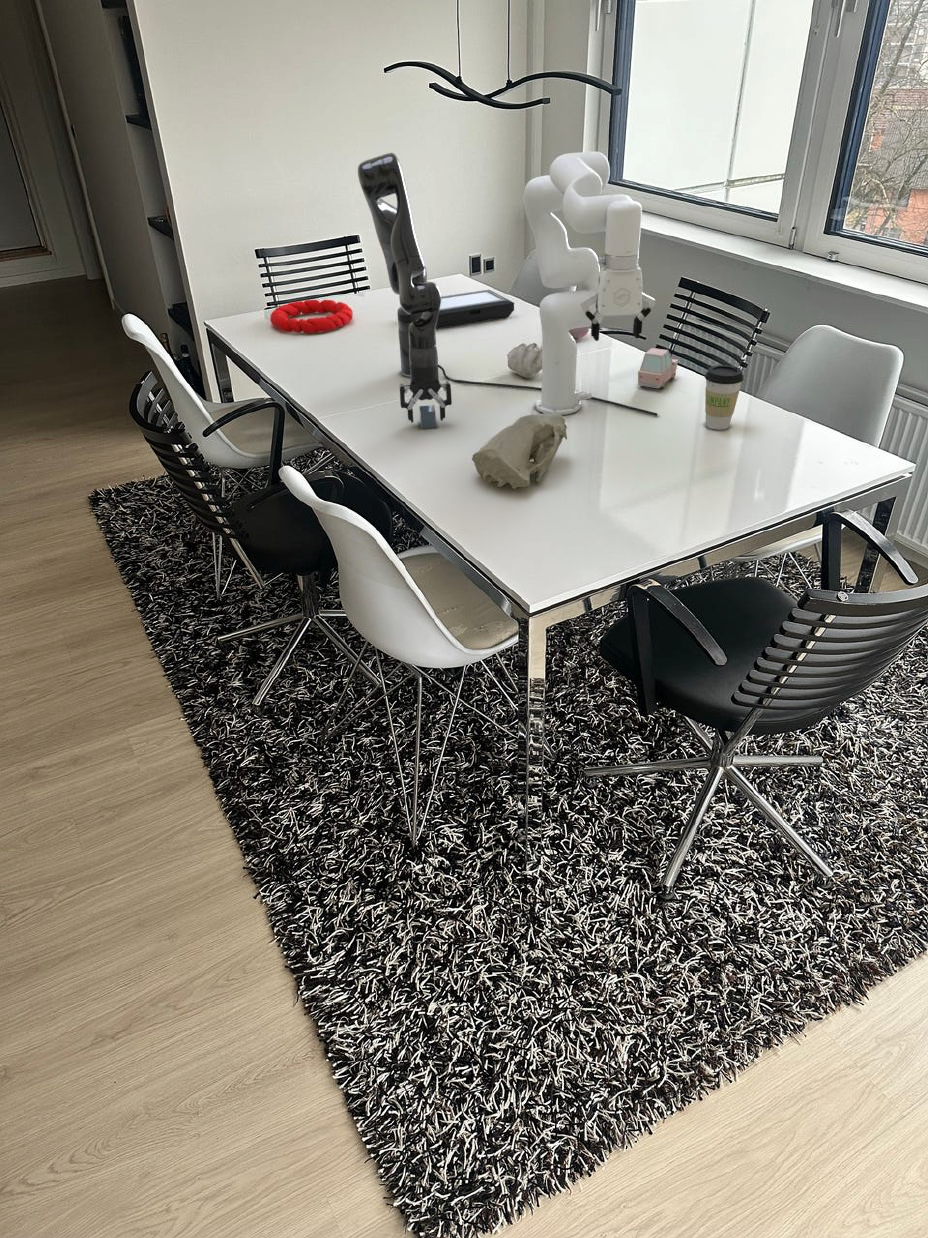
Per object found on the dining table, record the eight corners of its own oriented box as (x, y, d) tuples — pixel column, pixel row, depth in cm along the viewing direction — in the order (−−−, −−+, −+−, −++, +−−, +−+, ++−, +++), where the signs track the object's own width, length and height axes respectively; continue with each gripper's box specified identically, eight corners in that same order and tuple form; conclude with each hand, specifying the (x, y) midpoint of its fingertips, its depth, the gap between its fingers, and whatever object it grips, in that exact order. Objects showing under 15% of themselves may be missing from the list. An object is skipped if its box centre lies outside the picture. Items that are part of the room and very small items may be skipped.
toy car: (680, 376, 271) (684, 343, 265) (662, 392, 260) (666, 358, 255) (651, 371, 275) (654, 339, 269) (632, 387, 264) (635, 354, 259)
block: (420, 422, 247) (419, 405, 245) (434, 421, 248) (434, 404, 245) (421, 428, 244) (420, 412, 241) (436, 427, 244) (435, 411, 241)
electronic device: (433, 312, 313) (412, 299, 328) (434, 330, 317) (413, 316, 332) (514, 300, 323) (490, 287, 338) (514, 317, 327) (490, 304, 342)
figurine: (575, 330, 312) (576, 295, 305) (594, 339, 304) (596, 302, 297) (554, 335, 308) (555, 299, 301) (572, 343, 300) (574, 307, 293)
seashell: (522, 385, 268) (523, 352, 263) (503, 370, 280) (503, 338, 274) (553, 380, 271) (554, 348, 266) (533, 365, 283) (533, 334, 277)
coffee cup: (691, 421, 242) (698, 367, 233) (722, 415, 245) (730, 362, 236) (712, 434, 234) (719, 379, 226) (743, 428, 237) (752, 373, 228)
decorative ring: (264, 303, 335) (273, 317, 310) (343, 294, 342) (358, 307, 317) (267, 323, 338) (277, 338, 313) (345, 314, 345) (360, 328, 320)
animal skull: (489, 499, 227) (452, 459, 211) (541, 418, 229) (509, 372, 213) (540, 522, 217) (505, 481, 201) (594, 437, 219) (564, 390, 203)
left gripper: (397, 368, 232) (401, 427, 241) (451, 364, 233) (454, 424, 242) (396, 358, 238) (400, 417, 247) (449, 355, 239) (451, 413, 248)
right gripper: (586, 267, 196) (583, 345, 206) (663, 263, 197) (656, 340, 207) (579, 259, 202) (576, 335, 212) (654, 255, 204) (647, 330, 213)
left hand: (426, 420), depth 245 cm, fingers open, 7 cm apart
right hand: (615, 337), depth 210 cm, fingers open, 9 cm apart
